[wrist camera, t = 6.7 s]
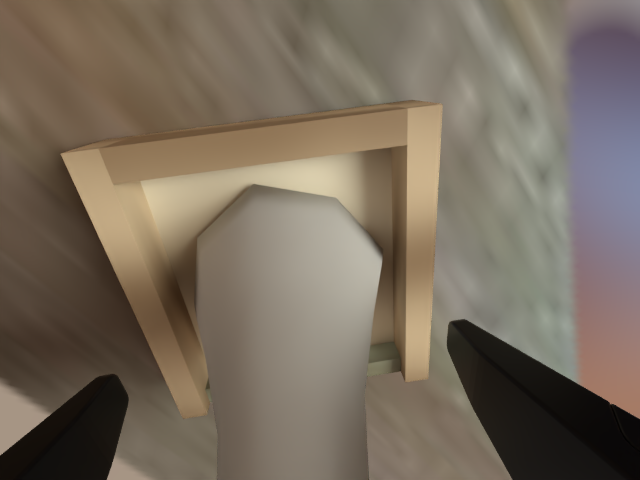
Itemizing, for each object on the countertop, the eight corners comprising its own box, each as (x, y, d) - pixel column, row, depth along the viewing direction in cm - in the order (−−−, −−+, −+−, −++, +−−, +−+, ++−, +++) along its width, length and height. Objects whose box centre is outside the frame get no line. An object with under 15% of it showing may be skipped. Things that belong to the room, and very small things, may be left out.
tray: (408, 339, 16) (428, 378, 14) (197, 372, 16) (183, 418, 14) (412, 100, 11) (442, 103, 9) (105, 139, 11) (60, 153, 9)
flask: (165, 307, 13) (-104, 812, 4) (240, 144, 11) (-9, 492, 2) (320, 361, 15) (374, 770, 6) (413, 237, 13) (724, 607, 4)
